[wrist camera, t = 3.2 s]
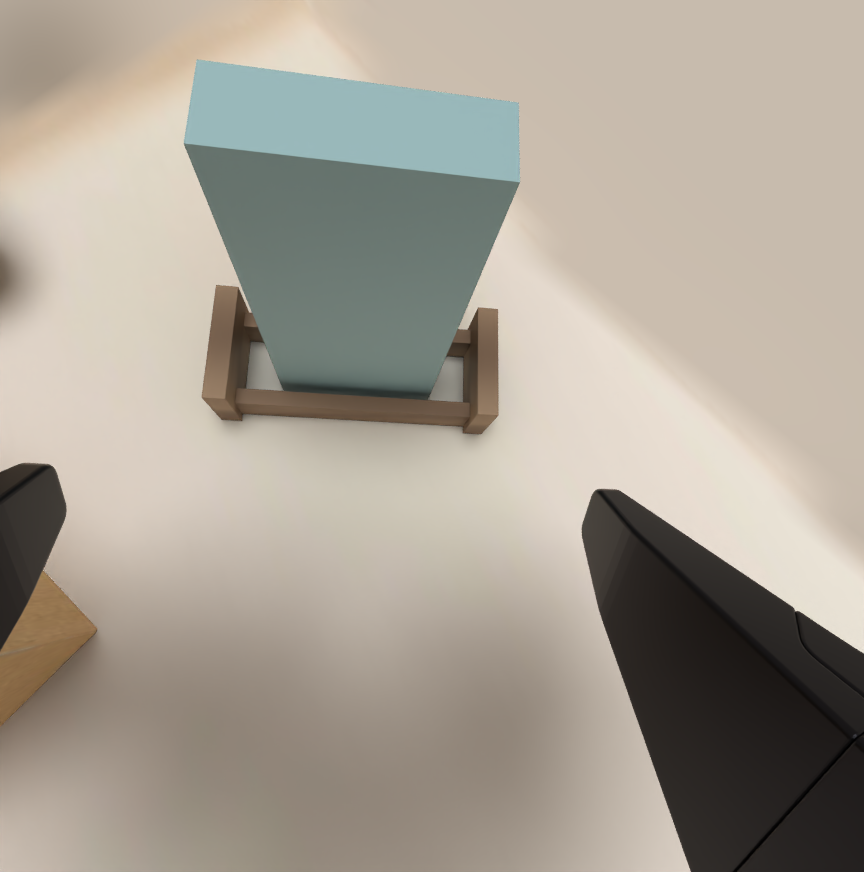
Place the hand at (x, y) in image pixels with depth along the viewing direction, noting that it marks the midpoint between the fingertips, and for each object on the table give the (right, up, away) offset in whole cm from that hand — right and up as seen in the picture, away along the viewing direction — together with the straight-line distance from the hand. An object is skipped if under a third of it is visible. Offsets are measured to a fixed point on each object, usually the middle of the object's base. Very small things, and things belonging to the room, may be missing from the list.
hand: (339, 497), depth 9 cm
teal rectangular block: (-2, +4, +14) cm, 15 cm away
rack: (-2, +4, +14) cm, 15 cm away
